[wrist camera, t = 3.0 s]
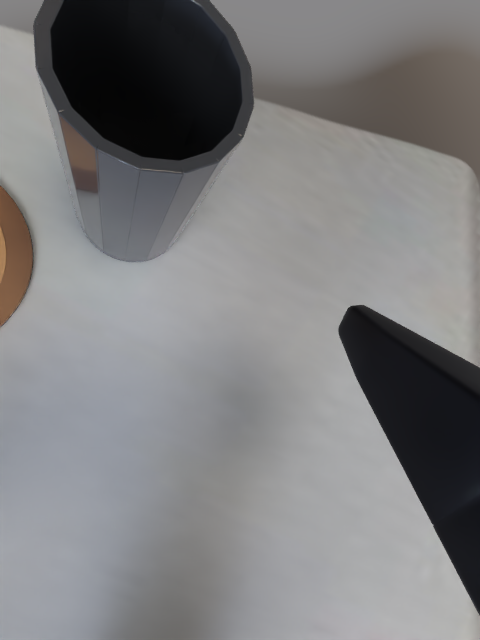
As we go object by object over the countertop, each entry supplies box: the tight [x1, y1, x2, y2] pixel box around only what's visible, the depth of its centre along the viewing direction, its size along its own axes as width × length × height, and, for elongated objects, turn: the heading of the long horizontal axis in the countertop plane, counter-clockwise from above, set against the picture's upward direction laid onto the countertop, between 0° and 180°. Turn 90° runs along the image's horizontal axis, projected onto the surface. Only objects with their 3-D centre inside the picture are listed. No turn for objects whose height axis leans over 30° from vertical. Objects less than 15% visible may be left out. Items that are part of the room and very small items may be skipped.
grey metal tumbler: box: [33, 0, 254, 262], centre depth 16 cm, size 6×6×12 cm
